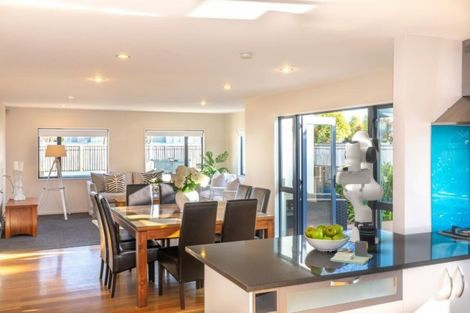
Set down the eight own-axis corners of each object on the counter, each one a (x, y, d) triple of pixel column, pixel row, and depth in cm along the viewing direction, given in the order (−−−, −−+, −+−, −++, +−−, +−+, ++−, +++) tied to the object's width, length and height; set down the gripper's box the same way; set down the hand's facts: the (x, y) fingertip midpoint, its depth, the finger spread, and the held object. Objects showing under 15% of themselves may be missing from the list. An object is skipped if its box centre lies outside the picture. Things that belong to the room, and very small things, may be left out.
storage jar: (376, 253, 258) (376, 228, 258) (359, 253, 260) (359, 227, 260) (375, 250, 268) (374, 225, 268) (358, 249, 270) (358, 225, 270)
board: (341, 253, 259) (341, 246, 259) (372, 257, 250) (372, 249, 250) (330, 260, 242) (330, 253, 242) (363, 264, 233) (363, 256, 233)
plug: (356, 254, 251) (356, 240, 251) (368, 255, 248) (368, 241, 248) (355, 255, 248) (354, 241, 248) (366, 257, 245) (366, 242, 245)
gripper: (368, 168, 262) (368, 191, 262) (334, 168, 260) (334, 191, 260) (372, 168, 256) (372, 192, 256) (338, 168, 254) (338, 192, 253)
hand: (353, 191), depth 258 cm, fingers open, 8 cm apart
